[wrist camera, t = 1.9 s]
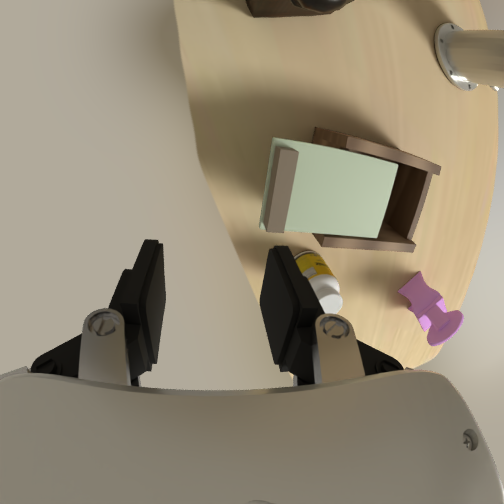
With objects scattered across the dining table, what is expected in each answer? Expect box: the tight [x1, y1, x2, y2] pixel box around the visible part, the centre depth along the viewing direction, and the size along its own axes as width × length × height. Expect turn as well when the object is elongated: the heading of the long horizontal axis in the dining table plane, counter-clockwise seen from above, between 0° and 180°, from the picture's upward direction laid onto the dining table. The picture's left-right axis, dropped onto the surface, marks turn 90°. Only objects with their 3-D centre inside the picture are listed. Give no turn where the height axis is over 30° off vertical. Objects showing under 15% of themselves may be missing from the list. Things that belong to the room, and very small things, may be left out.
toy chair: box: [398, 271, 464, 346], centre depth 42 cm, size 8×9×15 cm
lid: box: [259, 137, 398, 238], centre depth 25 cm, size 14×9×3 cm, turn 83°
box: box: [312, 127, 441, 253], centre depth 31 cm, size 14×12×9 cm
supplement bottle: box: [294, 251, 343, 314], centre depth 37 cm, size 5×5×10 cm
